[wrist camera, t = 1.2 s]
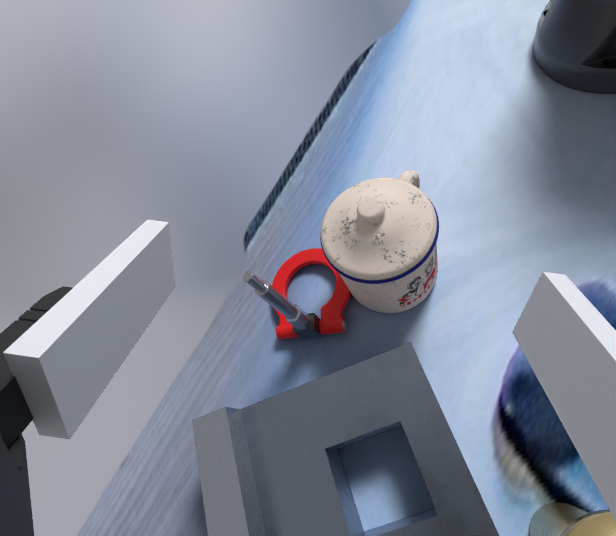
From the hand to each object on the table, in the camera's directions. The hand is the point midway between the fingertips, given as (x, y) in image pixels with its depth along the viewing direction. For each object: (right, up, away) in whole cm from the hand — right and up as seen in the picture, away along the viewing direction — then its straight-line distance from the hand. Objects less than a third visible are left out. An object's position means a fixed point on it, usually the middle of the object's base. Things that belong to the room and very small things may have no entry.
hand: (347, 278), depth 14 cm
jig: (+2, -16, +17) cm, 24 cm away
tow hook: (-1, -2, +25) cm, 25 cm away
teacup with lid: (+7, +1, +24) cm, 25 cm away
